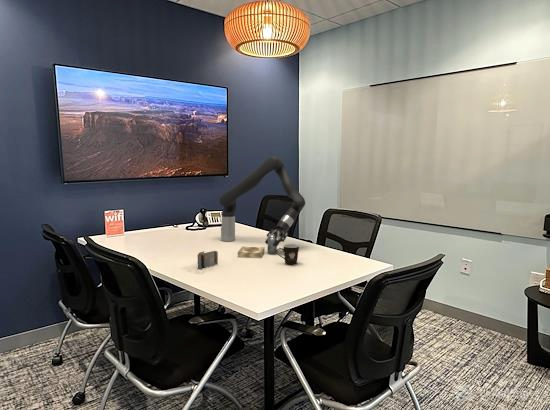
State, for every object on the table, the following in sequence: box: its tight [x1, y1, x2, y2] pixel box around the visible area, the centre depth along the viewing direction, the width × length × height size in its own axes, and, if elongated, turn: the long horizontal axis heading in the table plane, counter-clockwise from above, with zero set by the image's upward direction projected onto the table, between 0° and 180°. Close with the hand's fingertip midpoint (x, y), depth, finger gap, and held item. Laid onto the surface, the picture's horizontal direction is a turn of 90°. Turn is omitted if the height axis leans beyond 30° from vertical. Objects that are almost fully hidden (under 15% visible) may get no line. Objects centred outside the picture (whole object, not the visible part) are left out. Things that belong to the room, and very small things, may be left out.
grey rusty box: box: [197, 250, 219, 270], centre depth 195 cm, size 11×3×10 cm, turn 138°
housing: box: [267, 234, 278, 256], centre depth 223 cm, size 6×6×11 cm
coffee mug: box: [276, 243, 300, 266], centre depth 203 cm, size 12×9×10 cm
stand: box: [237, 246, 265, 259], centre depth 221 cm, size 14×14×3 cm
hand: (270, 244), depth 222 cm, fingers open, 8 cm apart
